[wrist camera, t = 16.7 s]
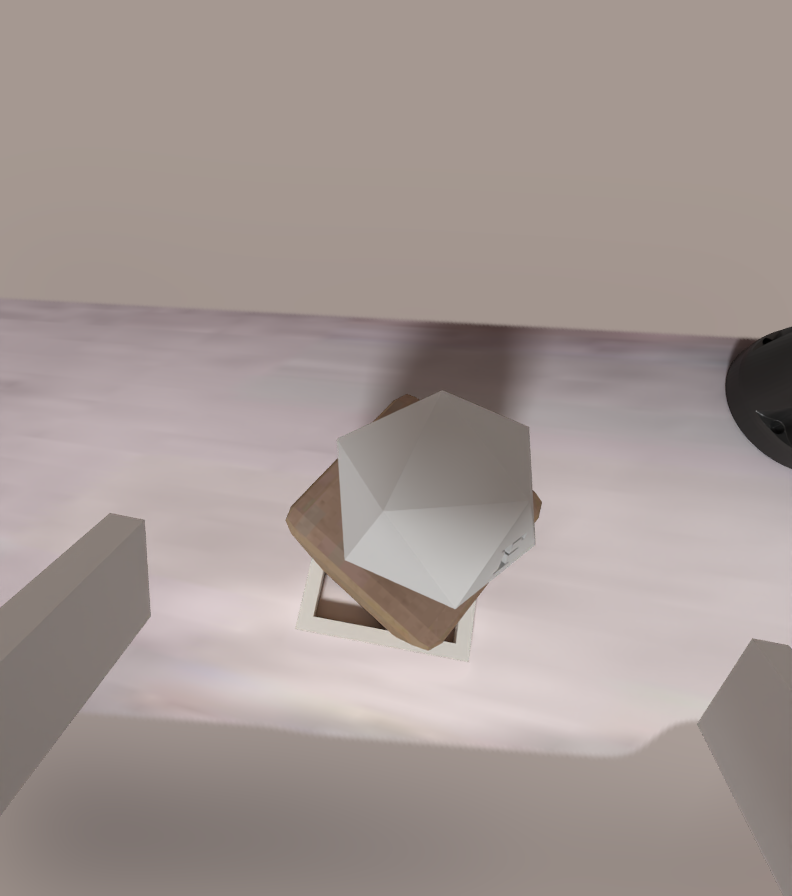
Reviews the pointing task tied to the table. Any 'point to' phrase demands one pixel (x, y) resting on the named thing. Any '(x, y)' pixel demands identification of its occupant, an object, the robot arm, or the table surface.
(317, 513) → the wooden block
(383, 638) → the base frame
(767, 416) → the robot arm
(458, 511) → the die
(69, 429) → the table surface
